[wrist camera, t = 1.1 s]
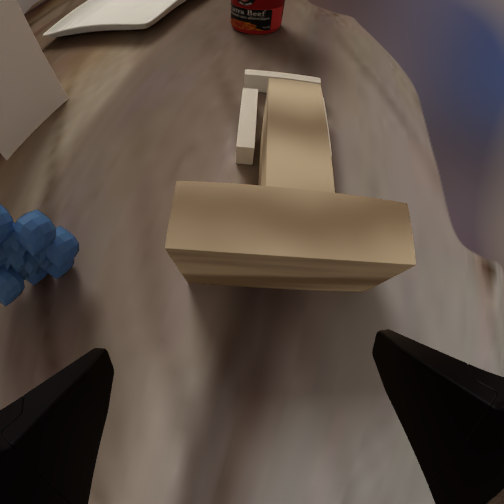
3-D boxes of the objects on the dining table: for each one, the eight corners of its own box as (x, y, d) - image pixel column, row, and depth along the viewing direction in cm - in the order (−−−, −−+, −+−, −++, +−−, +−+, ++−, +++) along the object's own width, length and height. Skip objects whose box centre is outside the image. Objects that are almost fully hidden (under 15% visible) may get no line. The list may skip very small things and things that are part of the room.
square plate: (222, -12, 42) (222, -26, 38) (150, 41, 33) (147, 22, 29) (123, -10, 43) (121, -21, 39) (45, 47, 34) (39, 34, 31)
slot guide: (324, 172, 26) (332, 156, 24) (236, 163, 26) (236, 146, 23) (315, 93, 30) (320, 78, 27) (244, 85, 29) (245, 69, 27)
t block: (362, 292, 23) (416, 264, 15) (187, 282, 22) (164, 248, 14) (349, 152, 27) (378, 97, 20) (208, 138, 27) (202, 74, 19)
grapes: (6, 323, 19) (-87, 297, 8) (6, 256, 21) (-74, 207, 10) (101, 309, 21) (2, 270, 9) (96, 232, 23) (20, 152, 11)
